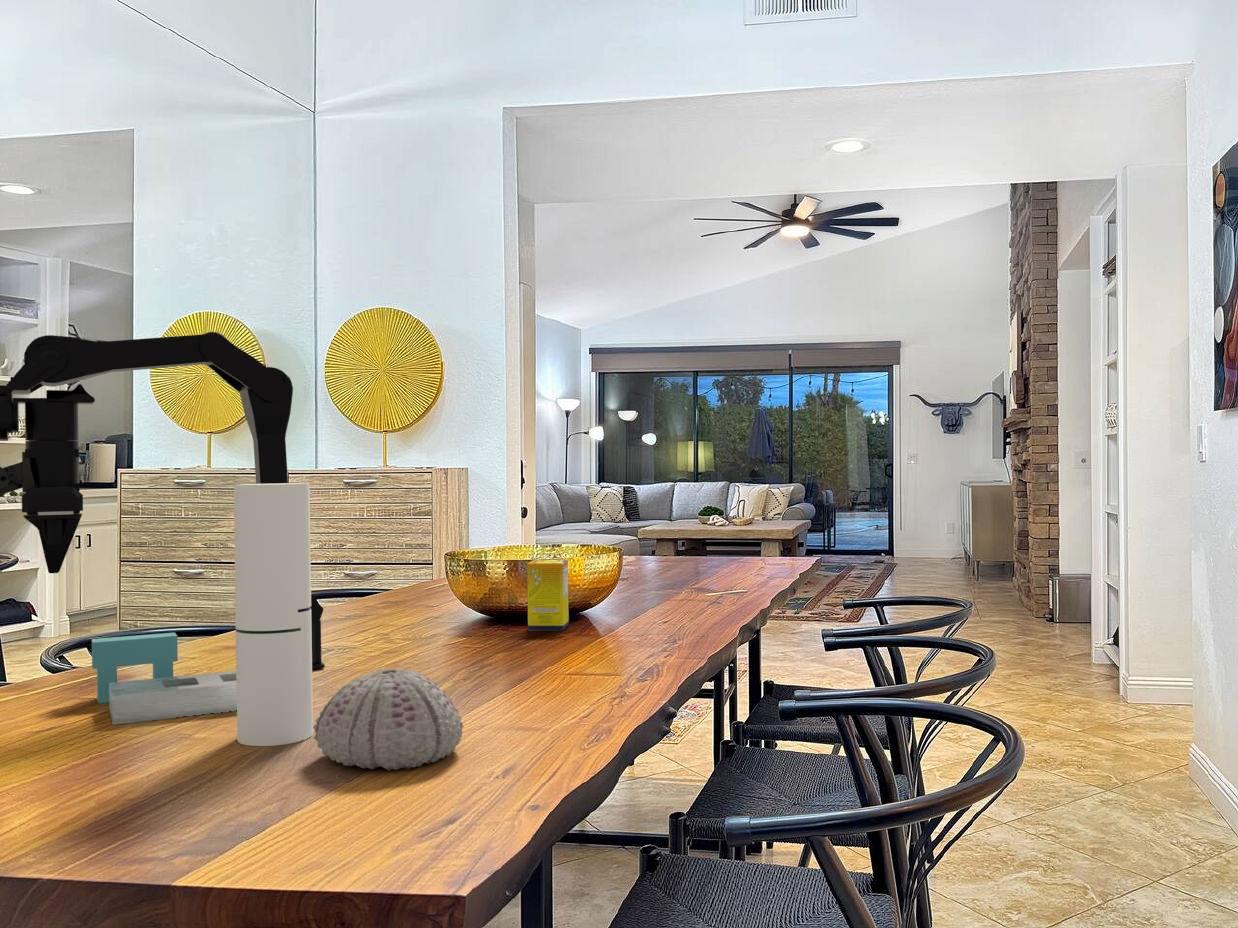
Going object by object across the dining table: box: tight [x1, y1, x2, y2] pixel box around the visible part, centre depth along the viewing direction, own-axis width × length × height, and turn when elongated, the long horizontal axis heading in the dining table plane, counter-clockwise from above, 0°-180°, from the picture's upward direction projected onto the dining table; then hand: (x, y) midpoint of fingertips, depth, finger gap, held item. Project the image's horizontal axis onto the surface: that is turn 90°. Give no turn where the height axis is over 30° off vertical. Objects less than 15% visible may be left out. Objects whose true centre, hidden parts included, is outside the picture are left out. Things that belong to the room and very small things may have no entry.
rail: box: [108, 670, 237, 726], centre depth 120 cm, size 20×8×3 cm, turn 118°
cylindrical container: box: [233, 482, 314, 747], centre depth 106 cm, size 7×7×25 cm
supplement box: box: [526, 559, 570, 632], centre depth 176 cm, size 6×6×11 cm
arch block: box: [91, 632, 179, 704], centre depth 126 cm, size 9×3×7 cm, turn 118°
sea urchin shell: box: [313, 668, 465, 771], centre depth 98 cm, size 13×14×8 cm
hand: (53, 569), depth 130 cm, fingers open, 9 cm apart
